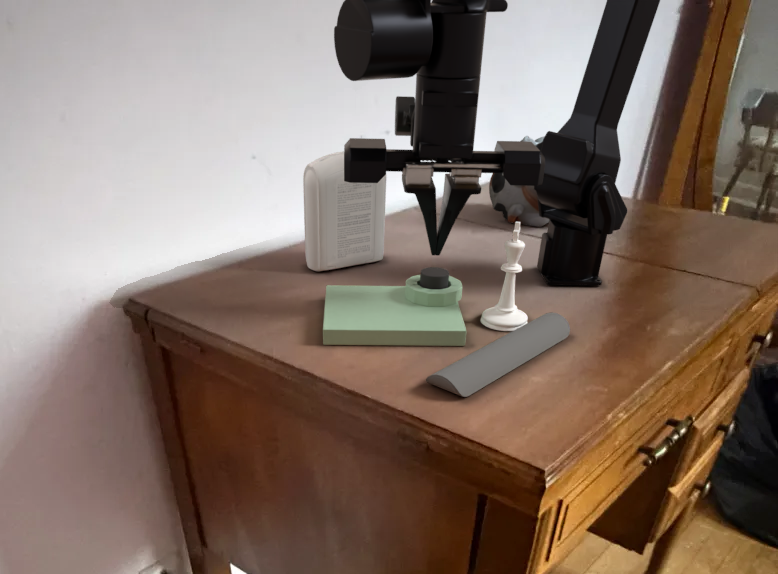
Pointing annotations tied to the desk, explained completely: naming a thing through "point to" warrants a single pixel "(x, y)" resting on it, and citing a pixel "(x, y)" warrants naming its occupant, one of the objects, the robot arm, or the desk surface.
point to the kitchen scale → (394, 315)
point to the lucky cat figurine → (516, 198)
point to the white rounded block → (341, 216)
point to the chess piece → (508, 291)
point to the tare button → (434, 278)
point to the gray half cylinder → (501, 355)
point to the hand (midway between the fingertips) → (435, 254)
